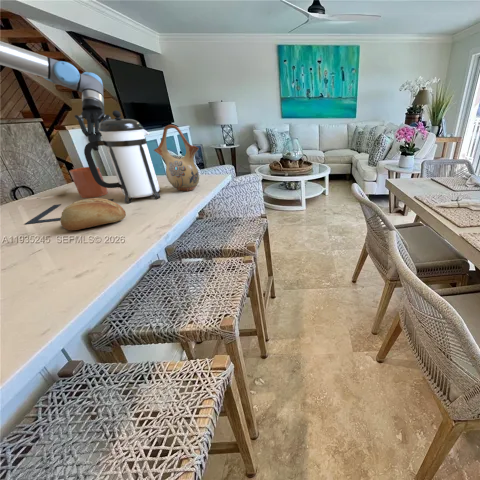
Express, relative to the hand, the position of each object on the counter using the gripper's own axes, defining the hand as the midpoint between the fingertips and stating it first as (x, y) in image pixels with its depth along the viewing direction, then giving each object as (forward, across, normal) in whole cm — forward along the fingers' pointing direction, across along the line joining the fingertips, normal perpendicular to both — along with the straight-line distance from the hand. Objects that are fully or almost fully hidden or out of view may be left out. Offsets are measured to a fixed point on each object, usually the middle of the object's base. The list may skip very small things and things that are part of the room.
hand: (94, 148), depth 112 cm
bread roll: (+49, -12, +27) cm, 57 cm away
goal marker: (+35, 0, +14) cm, 38 cm away
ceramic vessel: (+28, -34, +6) cm, 44 cm away
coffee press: (+31, -18, +9) cm, 37 cm away
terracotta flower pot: (+23, 0, +1) cm, 23 cm away
